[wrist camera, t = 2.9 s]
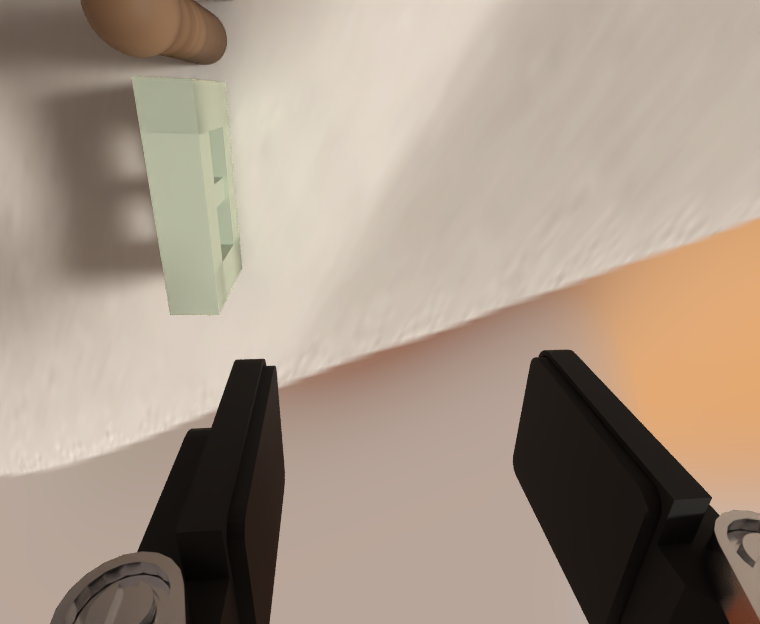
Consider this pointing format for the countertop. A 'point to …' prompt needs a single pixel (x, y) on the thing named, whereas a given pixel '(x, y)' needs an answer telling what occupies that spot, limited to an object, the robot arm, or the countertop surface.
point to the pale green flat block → (191, 189)
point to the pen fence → (158, 28)
